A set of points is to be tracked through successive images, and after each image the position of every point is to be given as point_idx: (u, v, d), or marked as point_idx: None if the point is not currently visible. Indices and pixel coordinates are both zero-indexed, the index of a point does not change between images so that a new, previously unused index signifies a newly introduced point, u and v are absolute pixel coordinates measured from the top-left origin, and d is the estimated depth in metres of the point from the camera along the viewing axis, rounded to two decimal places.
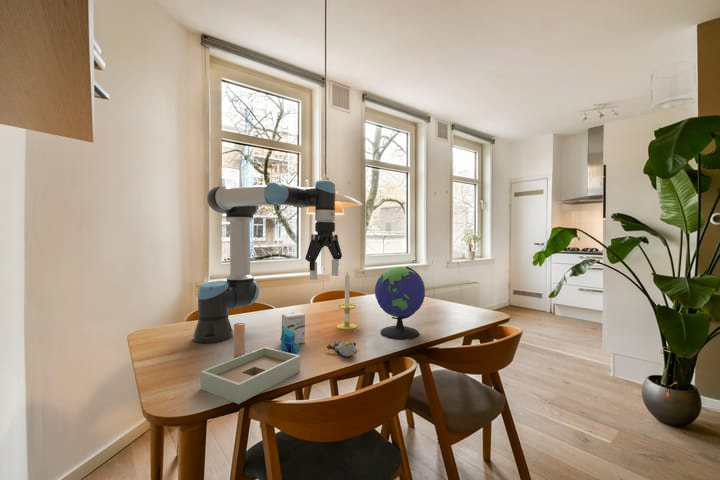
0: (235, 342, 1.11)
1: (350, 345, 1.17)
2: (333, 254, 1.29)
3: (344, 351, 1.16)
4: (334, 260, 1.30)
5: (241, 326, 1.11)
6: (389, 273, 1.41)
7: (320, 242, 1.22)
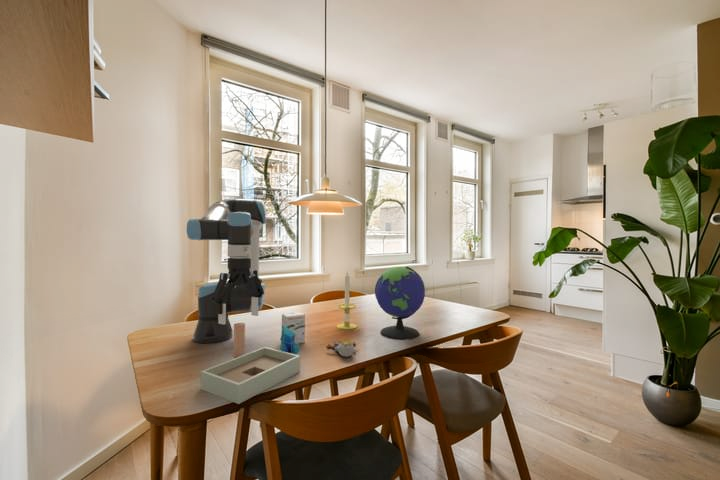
0: (235, 342, 1.11)
1: (349, 345, 1.16)
2: (252, 292, 1.17)
3: (343, 351, 1.15)
4: (254, 298, 1.17)
5: (241, 326, 1.11)
6: (389, 273, 1.41)
7: (232, 281, 1.09)
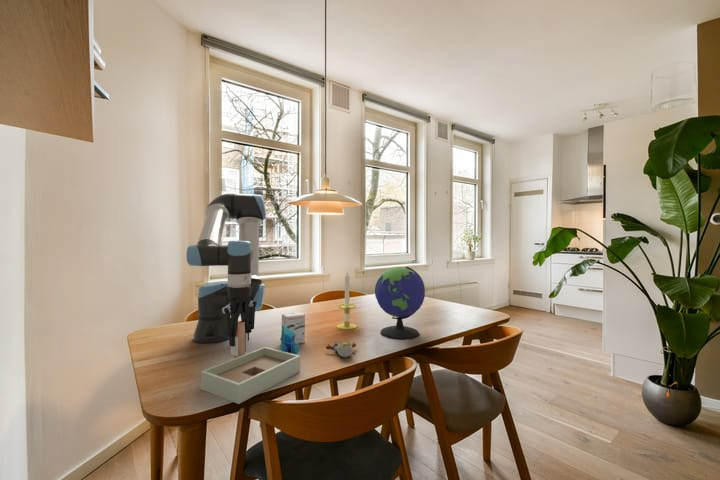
0: None
1: (348, 346, 1.16)
2: None
3: (341, 352, 1.15)
4: None
5: (241, 324, 1.11)
6: (389, 273, 1.41)
7: None
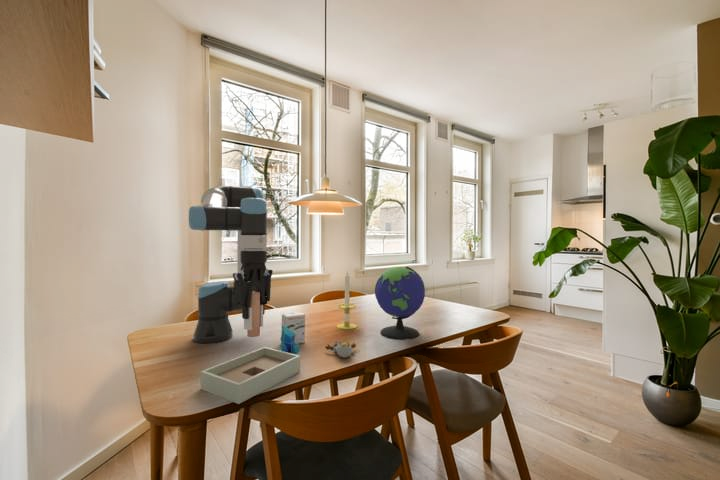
0: None
1: (346, 346, 1.15)
2: None
3: (340, 352, 1.15)
4: None
5: (256, 294, 0.97)
6: (389, 273, 1.41)
7: None
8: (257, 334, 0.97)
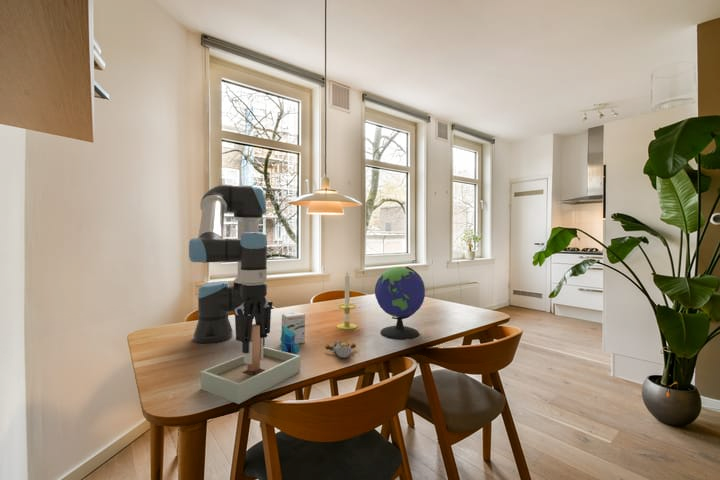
0: None
1: (346, 346, 1.15)
2: None
3: (339, 352, 1.15)
4: None
5: (256, 328, 0.97)
6: (389, 273, 1.41)
7: None
8: (257, 368, 0.98)
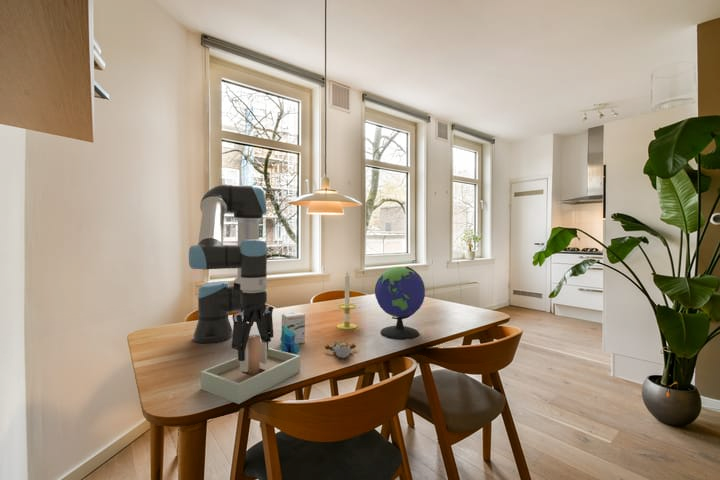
0: (249, 357, 0.97)
1: (345, 347, 1.15)
2: (261, 333, 1.01)
3: (338, 352, 1.15)
4: (261, 343, 1.01)
5: (256, 339, 0.97)
6: (389, 273, 1.41)
7: None
8: None
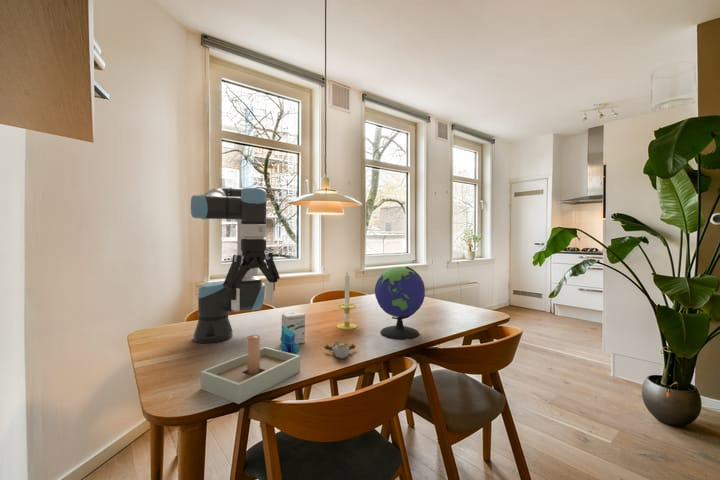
0: (249, 357, 0.97)
1: (343, 347, 1.15)
2: (267, 276, 1.07)
3: (337, 352, 1.14)
4: (268, 283, 1.08)
5: (256, 339, 0.97)
6: (389, 273, 1.41)
7: (246, 264, 0.99)
8: None
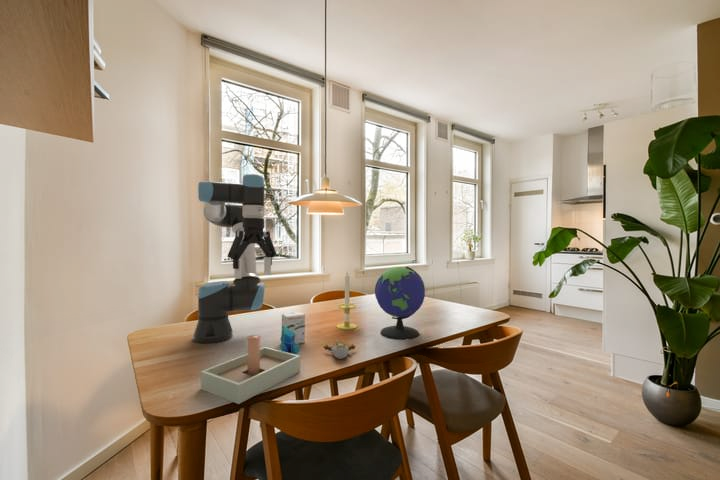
0: (249, 357, 0.97)
1: (342, 347, 1.14)
2: (265, 252, 1.23)
3: (335, 353, 1.14)
4: (266, 258, 1.24)
5: (256, 339, 0.97)
6: (389, 273, 1.41)
7: (247, 239, 1.16)
8: None
